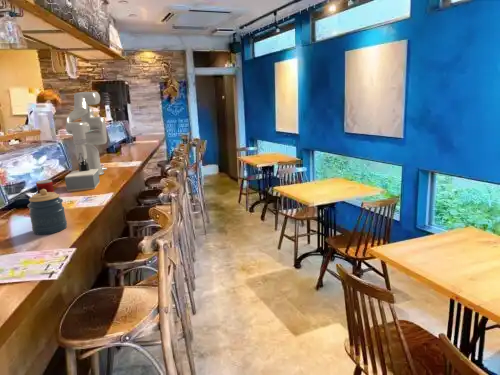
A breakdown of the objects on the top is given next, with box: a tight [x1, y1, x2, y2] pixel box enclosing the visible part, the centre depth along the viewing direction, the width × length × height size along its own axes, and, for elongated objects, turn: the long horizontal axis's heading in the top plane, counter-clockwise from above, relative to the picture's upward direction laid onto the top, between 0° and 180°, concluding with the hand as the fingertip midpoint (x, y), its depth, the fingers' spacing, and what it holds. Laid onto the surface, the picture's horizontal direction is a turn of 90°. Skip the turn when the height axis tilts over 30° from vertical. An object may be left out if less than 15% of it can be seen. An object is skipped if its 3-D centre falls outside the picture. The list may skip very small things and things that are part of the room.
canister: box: [27, 189, 68, 236], centre depth 153 cm, size 13×13×18 cm
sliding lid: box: [64, 162, 98, 179], centre depth 235 cm, size 20×16×6 cm
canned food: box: [35, 179, 55, 194], centre depth 205 cm, size 8×8×11 cm
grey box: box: [64, 171, 101, 192], centre depth 235 cm, size 20×16×8 cm
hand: (84, 170), depth 242 cm, fingers closed on sliding lid, 2 cm apart
